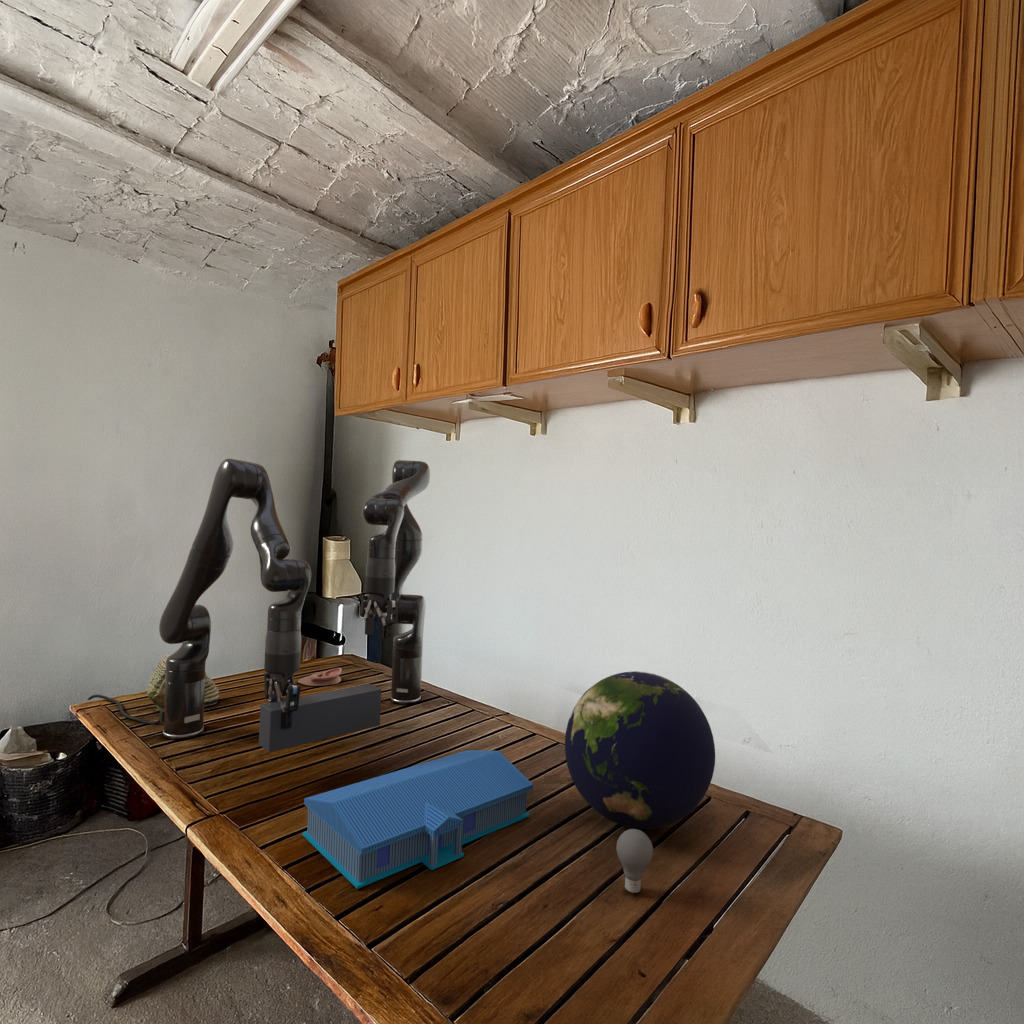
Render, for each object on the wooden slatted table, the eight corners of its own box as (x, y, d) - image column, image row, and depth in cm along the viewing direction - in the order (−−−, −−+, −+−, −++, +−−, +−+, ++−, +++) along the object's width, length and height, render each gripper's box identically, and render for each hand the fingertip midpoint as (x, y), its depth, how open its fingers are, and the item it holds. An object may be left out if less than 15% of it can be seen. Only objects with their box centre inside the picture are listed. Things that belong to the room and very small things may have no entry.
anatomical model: (293, 672, 210) (311, 663, 221) (292, 684, 210) (310, 675, 221) (330, 676, 207) (346, 667, 219) (329, 688, 208) (345, 678, 219)
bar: (269, 752, 136) (270, 711, 136) (258, 744, 140) (260, 704, 140) (380, 725, 155) (381, 689, 155) (368, 719, 159) (369, 683, 159)
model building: (367, 898, 100) (369, 836, 100) (301, 833, 119) (303, 781, 118) (541, 822, 127) (543, 772, 127) (465, 778, 145) (467, 735, 145)
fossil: (144, 707, 182) (145, 655, 182) (212, 696, 194) (213, 647, 194) (151, 716, 175) (153, 662, 175) (221, 703, 188) (223, 653, 188)
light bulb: (610, 879, 108) (613, 822, 108) (644, 879, 109) (647, 822, 109) (619, 902, 102) (622, 840, 102) (655, 901, 103) (658, 840, 103)
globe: (541, 837, 121) (548, 681, 121) (583, 776, 149) (589, 649, 148) (703, 878, 110) (712, 707, 109) (717, 804, 138) (723, 667, 137)
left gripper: (314, 653, 138) (310, 730, 138) (285, 640, 148) (282, 712, 148) (280, 658, 132) (277, 738, 133) (253, 644, 143) (250, 719, 143)
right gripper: (408, 577, 163) (405, 640, 162) (378, 572, 173) (375, 631, 173) (382, 578, 157) (379, 643, 157) (353, 572, 168) (350, 634, 168)
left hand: (280, 724), depth 141 cm, fingers closed on bar, 5 cm apart
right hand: (377, 637), depth 165 cm, fingers open, 8 cm apart
